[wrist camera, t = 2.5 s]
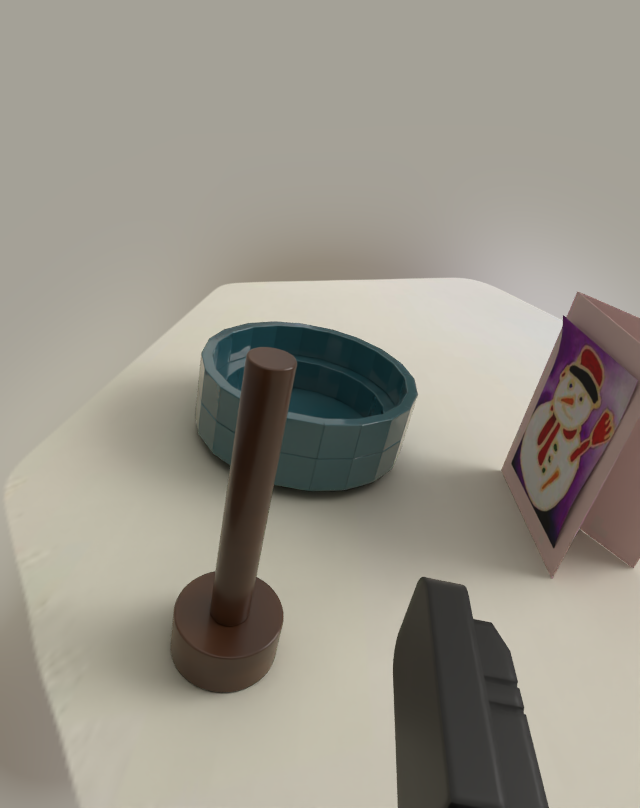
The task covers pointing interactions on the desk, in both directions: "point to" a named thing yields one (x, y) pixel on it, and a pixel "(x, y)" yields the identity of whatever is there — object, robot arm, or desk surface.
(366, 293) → the desk surface
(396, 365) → the bowl
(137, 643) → the desk surface
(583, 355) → the greeting card
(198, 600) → the brown joystick
